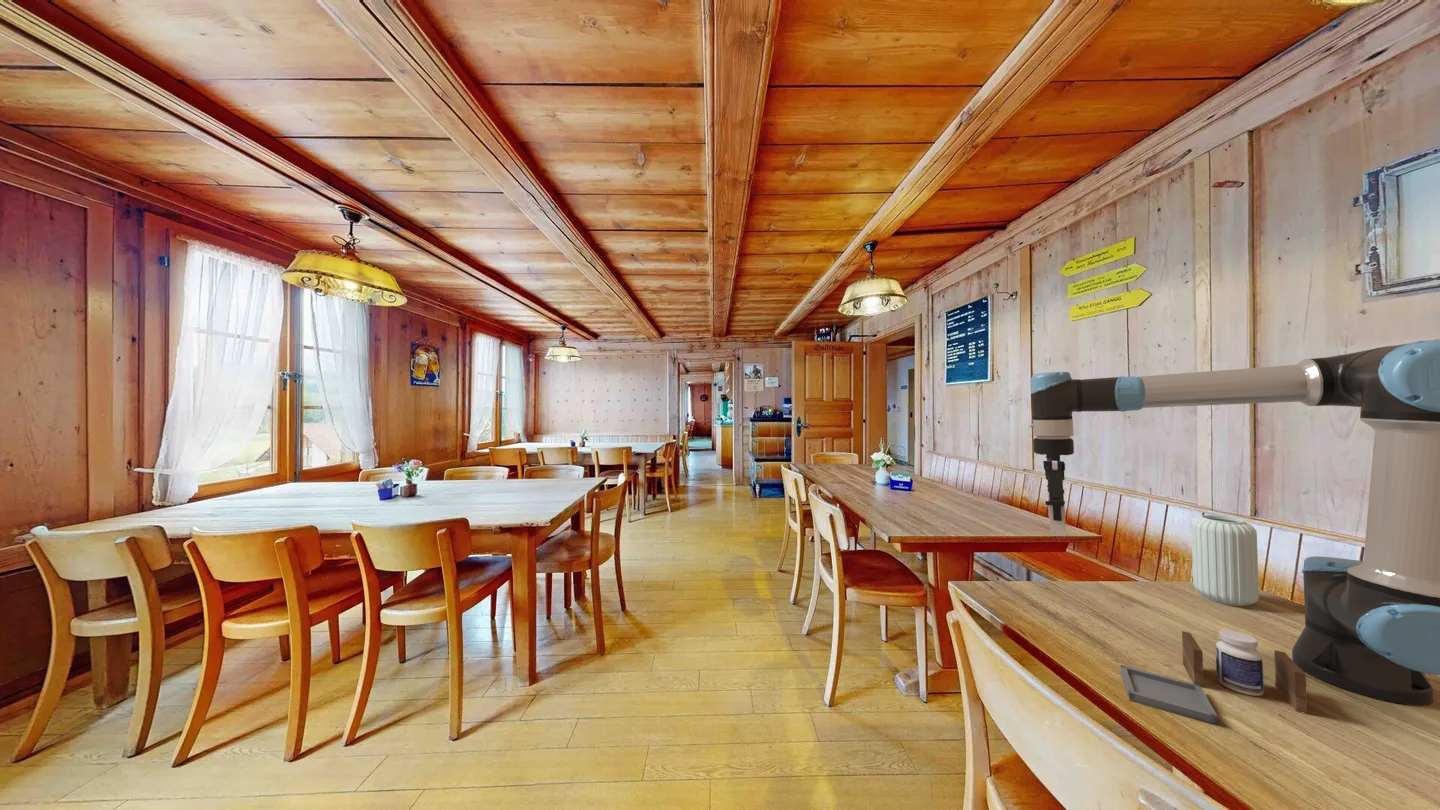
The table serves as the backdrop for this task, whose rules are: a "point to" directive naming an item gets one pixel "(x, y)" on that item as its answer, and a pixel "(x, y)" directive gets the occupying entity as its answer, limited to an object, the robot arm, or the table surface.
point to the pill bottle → (1239, 663)
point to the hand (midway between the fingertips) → (1056, 527)
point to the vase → (1225, 560)
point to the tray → (1168, 694)
